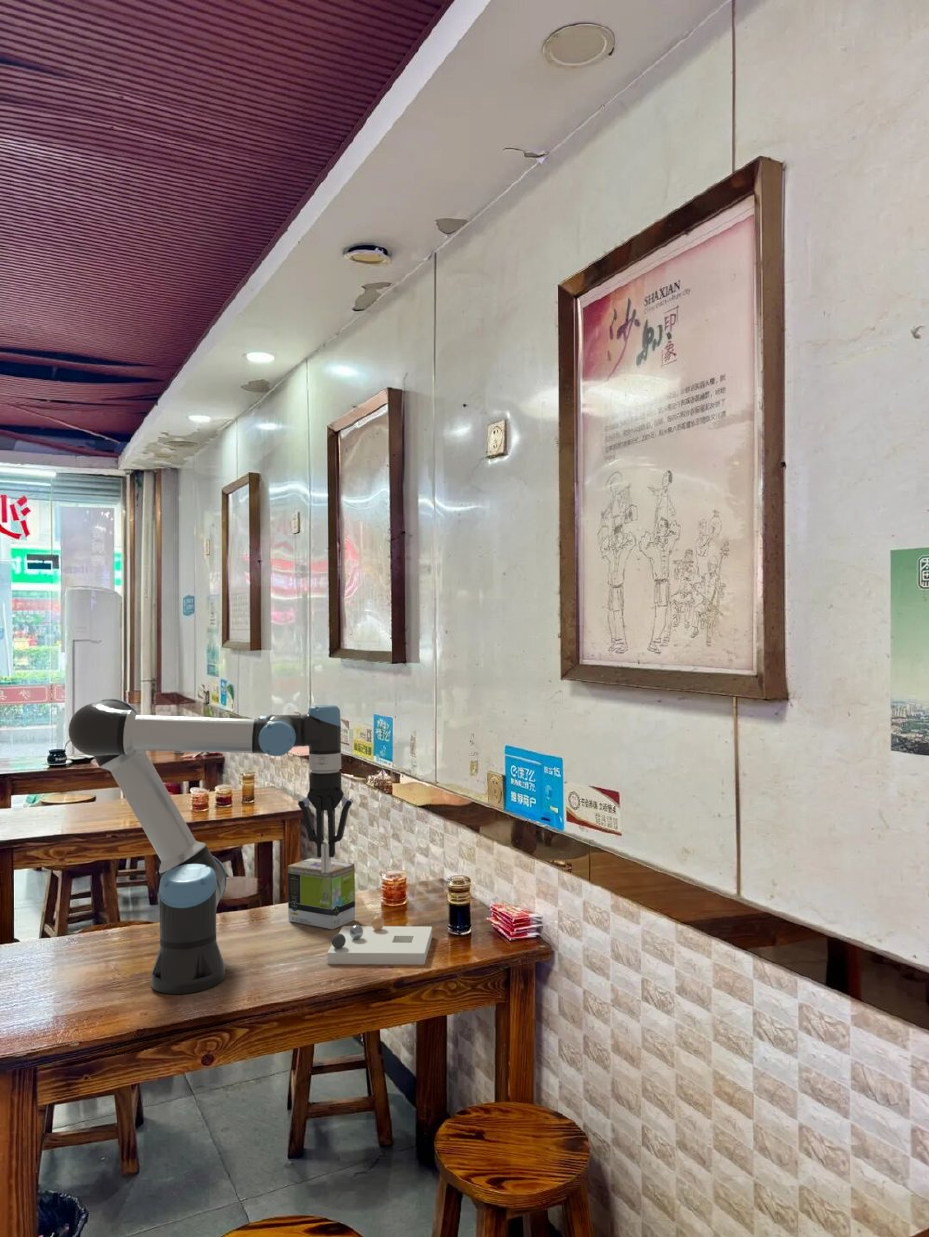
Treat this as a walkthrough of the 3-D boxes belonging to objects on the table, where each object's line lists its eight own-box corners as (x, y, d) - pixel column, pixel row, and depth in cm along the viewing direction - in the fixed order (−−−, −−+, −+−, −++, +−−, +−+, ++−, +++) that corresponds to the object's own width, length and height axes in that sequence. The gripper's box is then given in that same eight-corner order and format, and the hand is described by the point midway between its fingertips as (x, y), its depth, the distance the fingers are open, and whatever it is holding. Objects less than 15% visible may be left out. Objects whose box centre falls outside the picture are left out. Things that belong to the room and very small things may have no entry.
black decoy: (330, 950, 195) (330, 936, 195) (333, 945, 198) (333, 931, 199) (344, 950, 195) (344, 936, 195) (346, 945, 198) (346, 931, 198)
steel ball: (348, 941, 201) (348, 927, 201) (351, 936, 204) (350, 922, 204) (362, 941, 201) (361, 927, 201) (364, 936, 204) (364, 922, 204)
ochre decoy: (370, 931, 207) (369, 918, 207) (372, 927, 211) (372, 914, 211) (383, 931, 207) (383, 918, 207) (385, 927, 210) (385, 914, 210)
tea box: (356, 919, 225) (356, 862, 225) (331, 931, 216) (331, 871, 216) (312, 911, 232) (311, 855, 233) (286, 921, 224) (286, 864, 224)
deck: (327, 963, 194) (327, 952, 194) (343, 936, 212) (343, 926, 212) (424, 964, 193) (424, 953, 193) (432, 936, 211) (432, 926, 211)
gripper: (293, 773, 201) (294, 875, 200) (350, 772, 200) (351, 875, 199) (301, 768, 208) (302, 866, 208) (355, 768, 207) (357, 866, 207)
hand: (326, 870), depth 203 cm, fingers closed
